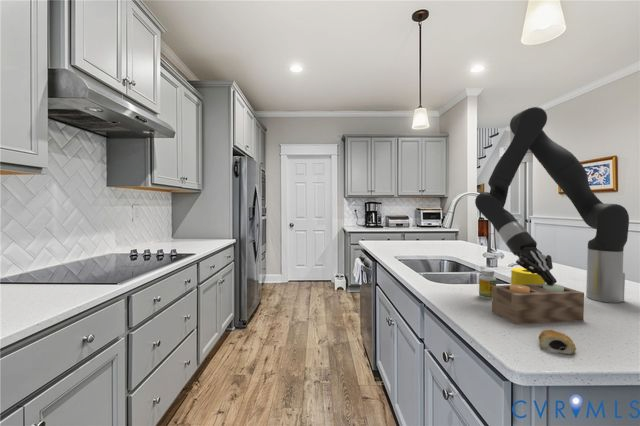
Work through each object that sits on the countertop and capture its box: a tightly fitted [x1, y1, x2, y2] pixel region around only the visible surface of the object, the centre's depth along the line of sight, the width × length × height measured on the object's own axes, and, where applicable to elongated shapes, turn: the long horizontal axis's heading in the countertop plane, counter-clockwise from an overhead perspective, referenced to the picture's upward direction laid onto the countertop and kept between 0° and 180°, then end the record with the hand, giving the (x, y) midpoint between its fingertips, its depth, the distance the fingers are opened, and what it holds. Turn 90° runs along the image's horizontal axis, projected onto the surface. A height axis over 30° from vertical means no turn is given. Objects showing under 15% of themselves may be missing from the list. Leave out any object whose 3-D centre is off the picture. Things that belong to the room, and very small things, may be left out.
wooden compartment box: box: [491, 284, 585, 325], centre depth 92 cm, size 21×10×8 cm, turn 97°
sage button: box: [543, 282, 565, 292], centre depth 93 cm, size 5×5×3 cm
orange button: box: [509, 284, 530, 293], centre depth 91 cm, size 5×5×3 cm
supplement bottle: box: [478, 268, 497, 300], centre depth 111 cm, size 5×5×10 cm
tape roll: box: [510, 267, 546, 285], centre depth 111 cm, size 10×10×9 cm
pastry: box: [538, 329, 577, 355], centre depth 73 cm, size 9×7×4 cm
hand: (552, 283), depth 93 cm, fingers closed
